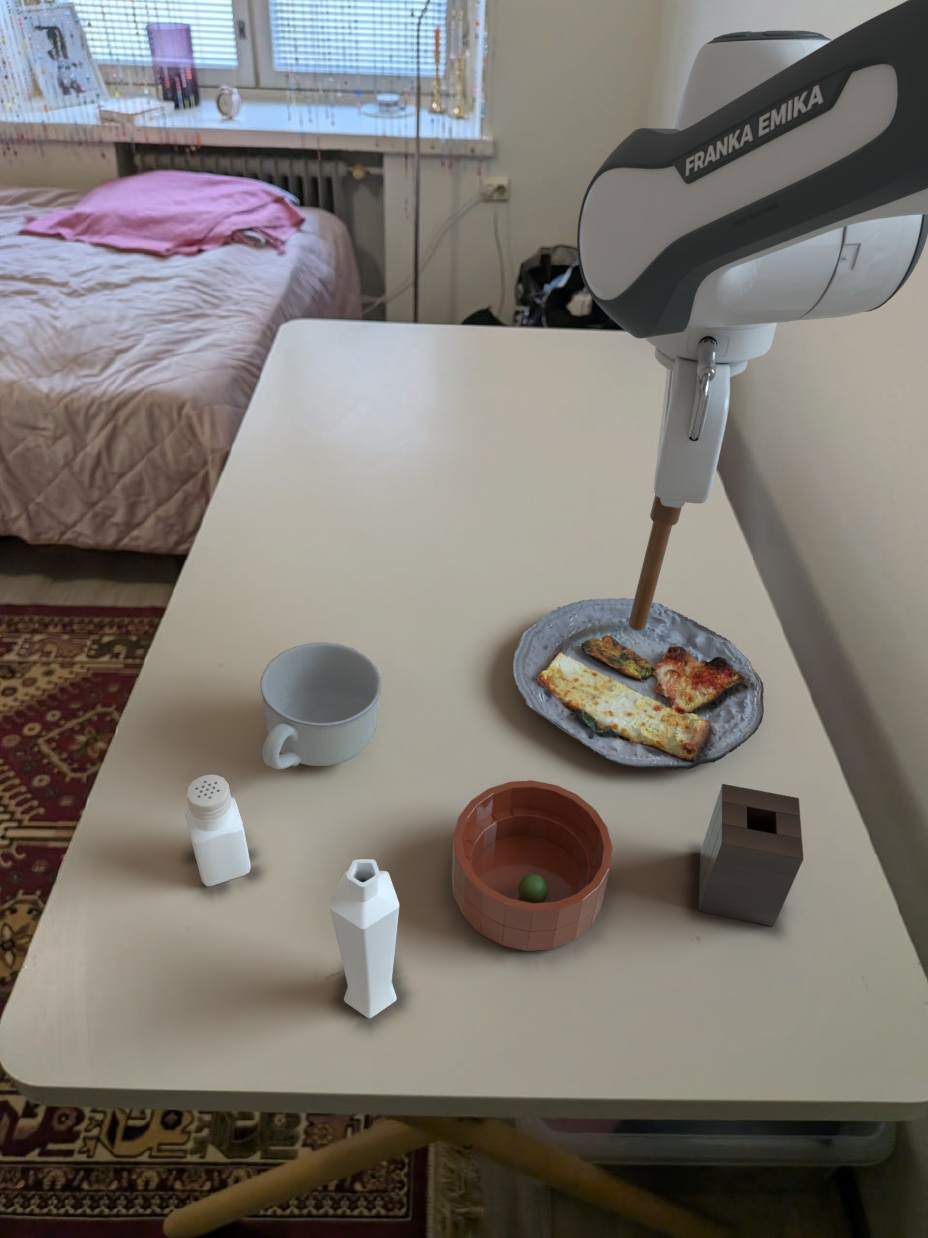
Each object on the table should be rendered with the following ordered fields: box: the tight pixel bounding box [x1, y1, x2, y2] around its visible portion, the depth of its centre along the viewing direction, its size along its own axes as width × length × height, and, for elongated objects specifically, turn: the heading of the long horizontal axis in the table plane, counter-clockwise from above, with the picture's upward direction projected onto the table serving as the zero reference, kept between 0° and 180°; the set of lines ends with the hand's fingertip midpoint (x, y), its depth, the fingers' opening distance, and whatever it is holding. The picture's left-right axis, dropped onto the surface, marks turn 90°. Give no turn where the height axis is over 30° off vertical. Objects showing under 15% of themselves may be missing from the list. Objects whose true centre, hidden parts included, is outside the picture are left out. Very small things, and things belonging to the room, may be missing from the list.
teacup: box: [259, 641, 382, 770], centre depth 85 cm, size 14×11×8 cm
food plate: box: [512, 597, 765, 770], centre depth 94 cm, size 25×23×4 cm
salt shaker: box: [184, 773, 252, 887], centre depth 74 cm, size 4×4×10 cm
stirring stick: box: [628, 494, 683, 631], centre depth 74 cm, size 2×2×18 cm
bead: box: [518, 874, 548, 903], centre depth 74 cm, size 2×2×2 cm
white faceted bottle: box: [329, 858, 400, 1019], centre depth 64 cm, size 5×4×15 cm
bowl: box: [451, 780, 614, 952], centre depth 75 cm, size 12×12×6 cm
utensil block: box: [698, 783, 805, 927], centre depth 74 cm, size 6×6×9 cm
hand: (672, 489), depth 71 cm, fingers closed on stirring stick, 2 cm apart
